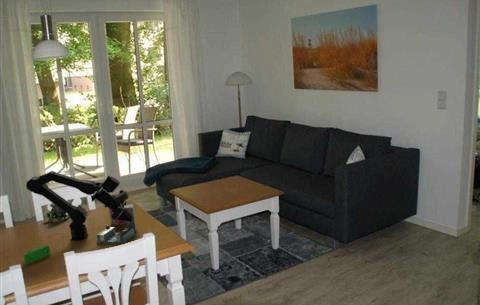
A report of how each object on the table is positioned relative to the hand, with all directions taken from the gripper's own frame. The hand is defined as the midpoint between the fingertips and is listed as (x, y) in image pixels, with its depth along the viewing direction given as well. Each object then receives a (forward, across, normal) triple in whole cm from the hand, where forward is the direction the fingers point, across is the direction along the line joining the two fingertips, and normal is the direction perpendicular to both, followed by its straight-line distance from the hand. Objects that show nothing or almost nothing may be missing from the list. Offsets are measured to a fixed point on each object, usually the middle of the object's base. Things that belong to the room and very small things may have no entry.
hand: (132, 217), depth 211 cm
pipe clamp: (-24, -20, +34) cm, 46 cm away
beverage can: (-1, +15, +11) cm, 18 cm away
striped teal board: (-1, -8, +10) cm, 13 cm away
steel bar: (+4, 0, +6) cm, 7 cm away
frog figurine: (-26, +33, +36) cm, 55 cm away
